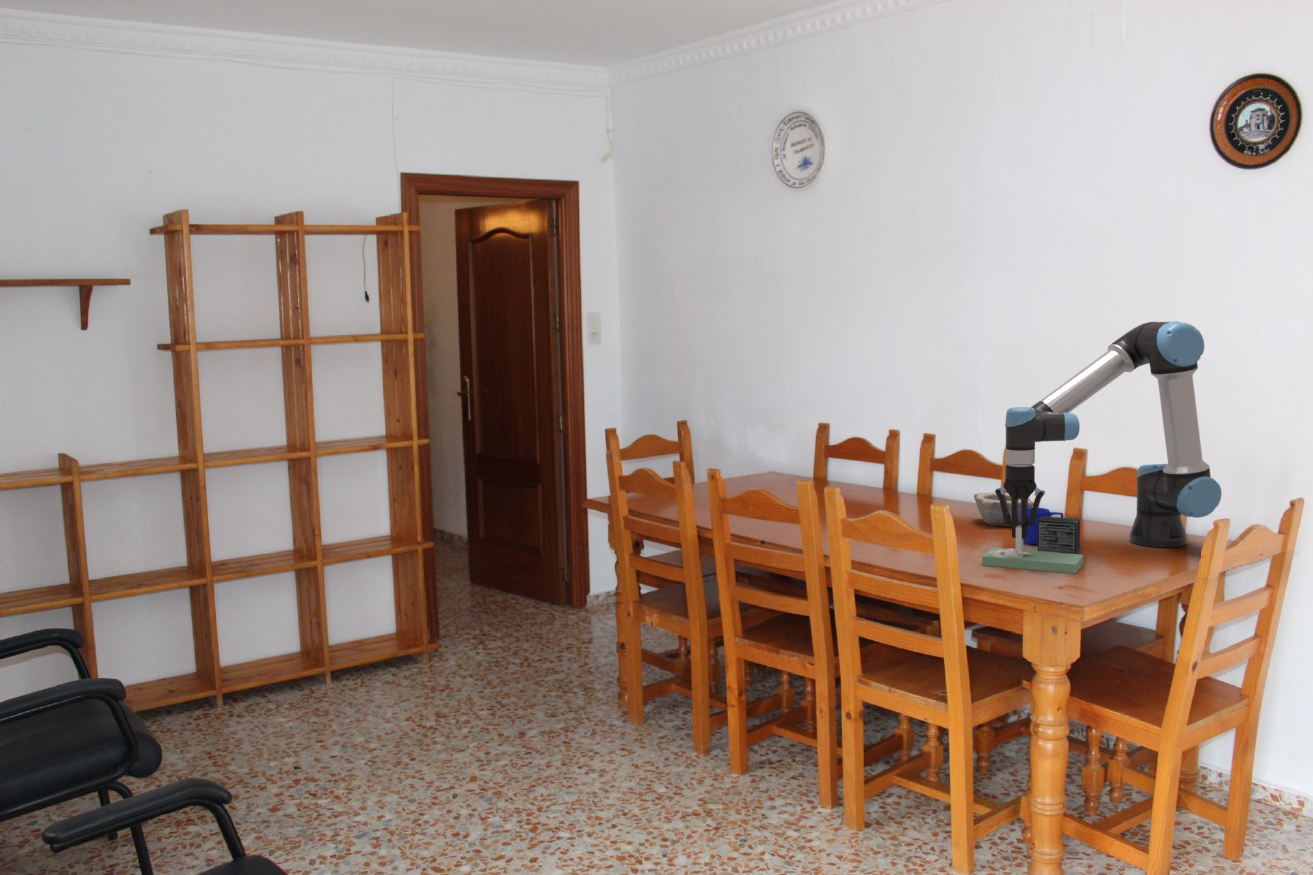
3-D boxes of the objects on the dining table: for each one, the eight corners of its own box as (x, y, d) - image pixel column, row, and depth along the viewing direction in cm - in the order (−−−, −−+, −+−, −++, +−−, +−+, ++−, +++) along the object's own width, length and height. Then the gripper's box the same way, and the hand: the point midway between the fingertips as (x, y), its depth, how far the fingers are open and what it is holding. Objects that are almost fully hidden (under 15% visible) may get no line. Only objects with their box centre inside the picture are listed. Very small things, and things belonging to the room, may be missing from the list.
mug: (1065, 546, 306) (1065, 512, 304) (1021, 545, 308) (1022, 512, 307) (1060, 540, 314) (1060, 507, 312) (1018, 539, 316) (1018, 507, 315)
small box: (1080, 554, 295) (1081, 517, 294) (1076, 559, 290) (1077, 522, 289) (1041, 551, 301) (1041, 515, 300) (1036, 556, 295) (1037, 519, 294)
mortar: (1035, 529, 330) (1036, 500, 329) (979, 529, 332) (980, 500, 331) (1024, 519, 346) (1024, 491, 345) (971, 519, 349) (971, 491, 348)
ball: (1020, 564, 289) (1019, 550, 290) (1020, 560, 285) (1019, 546, 287) (1004, 564, 290) (1003, 550, 291) (1004, 560, 286) (1003, 546, 288)
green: (1083, 563, 285) (1083, 554, 284) (1075, 573, 274) (1075, 564, 274) (992, 555, 297) (992, 547, 297) (982, 565, 287) (982, 556, 286)
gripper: (1048, 463, 284) (1047, 549, 287) (998, 461, 291) (998, 545, 294) (1042, 467, 278) (1041, 555, 281) (992, 465, 284) (991, 550, 287)
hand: (1019, 549), depth 287 cm, fingers closed
